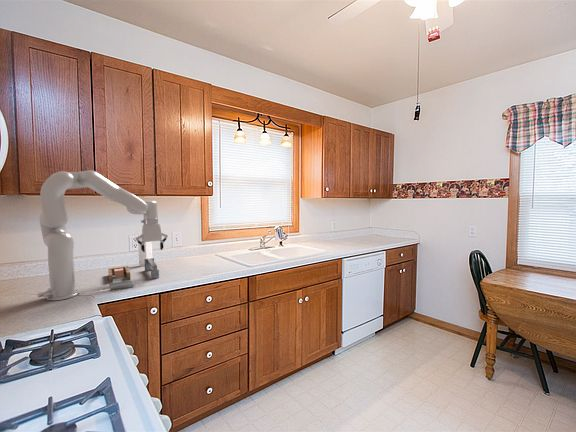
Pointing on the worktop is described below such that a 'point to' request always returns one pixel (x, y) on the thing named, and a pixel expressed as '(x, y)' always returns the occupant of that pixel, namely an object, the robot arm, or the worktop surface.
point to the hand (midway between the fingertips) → (152, 250)
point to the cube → (119, 273)
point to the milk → (146, 254)
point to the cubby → (119, 279)
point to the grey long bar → (151, 268)
